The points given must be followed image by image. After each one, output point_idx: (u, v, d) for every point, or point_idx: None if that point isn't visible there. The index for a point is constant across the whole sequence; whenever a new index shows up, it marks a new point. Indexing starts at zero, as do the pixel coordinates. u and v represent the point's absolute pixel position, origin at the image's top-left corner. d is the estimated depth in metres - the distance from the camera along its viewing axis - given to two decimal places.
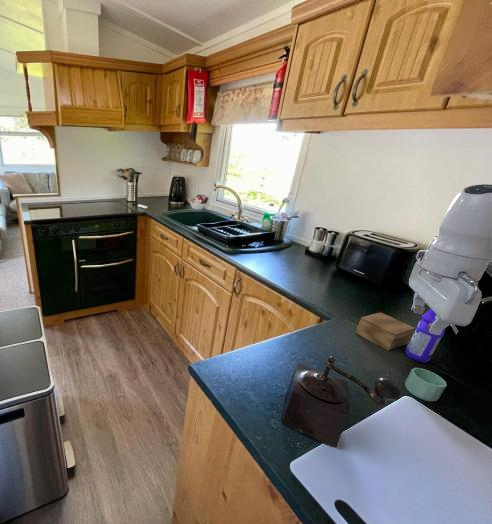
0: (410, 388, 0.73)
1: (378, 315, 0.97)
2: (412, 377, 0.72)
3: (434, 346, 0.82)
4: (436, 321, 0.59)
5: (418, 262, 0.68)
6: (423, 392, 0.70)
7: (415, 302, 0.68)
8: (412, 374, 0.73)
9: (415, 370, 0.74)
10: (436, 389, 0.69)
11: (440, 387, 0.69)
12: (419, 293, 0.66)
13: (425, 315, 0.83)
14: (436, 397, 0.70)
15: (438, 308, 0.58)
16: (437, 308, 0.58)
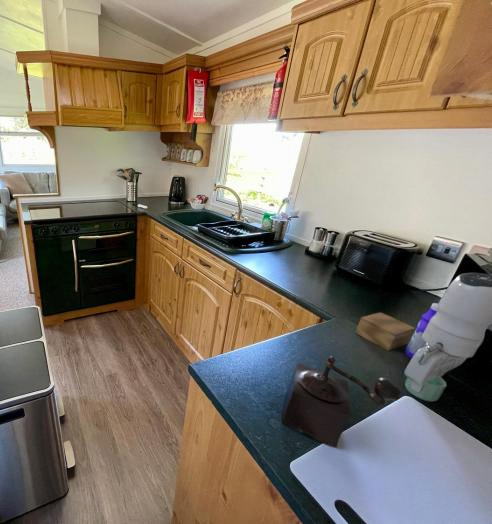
0: (410, 388, 0.73)
1: (378, 315, 0.97)
2: None
3: None
4: None
5: None
6: (423, 392, 0.70)
7: None
8: None
9: None
10: (436, 389, 0.69)
11: (440, 387, 0.69)
12: None
13: (425, 315, 0.83)
14: (436, 397, 0.70)
15: None
16: None
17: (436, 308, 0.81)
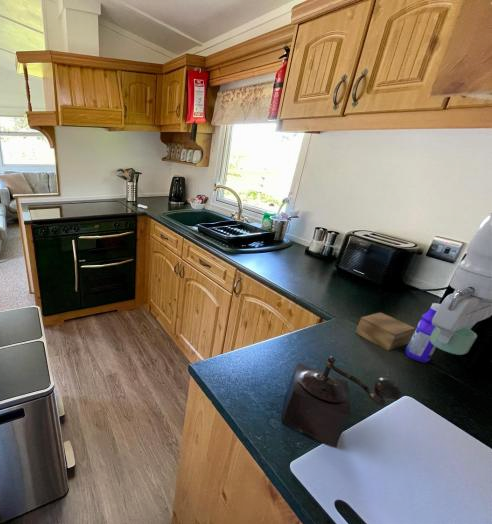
0: (436, 342, 0.67)
1: (378, 315, 0.97)
2: (438, 330, 0.67)
3: (434, 346, 0.82)
4: (440, 328, 0.65)
5: None
6: (451, 344, 0.65)
7: None
8: None
9: None
10: (465, 340, 0.64)
11: (470, 338, 0.63)
12: None
13: (425, 315, 0.83)
14: (466, 349, 0.64)
15: None
16: None
17: (436, 308, 0.81)
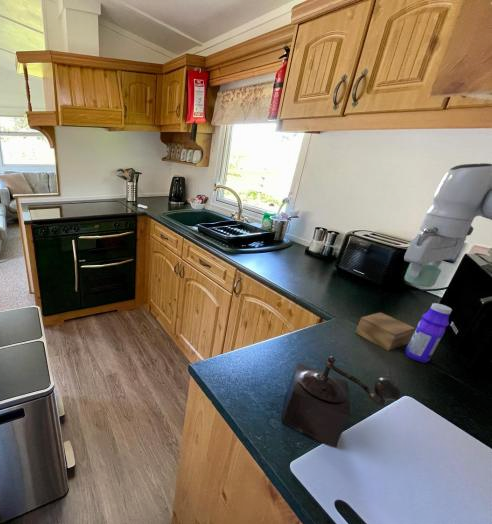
0: (409, 278, 0.82)
1: (378, 315, 0.97)
2: None
3: (434, 346, 0.82)
4: None
5: None
6: (420, 278, 0.79)
7: None
8: None
9: None
10: (431, 273, 0.78)
11: (435, 271, 0.78)
12: None
13: (425, 315, 0.83)
14: (432, 282, 0.79)
15: None
16: None
17: (436, 308, 0.81)
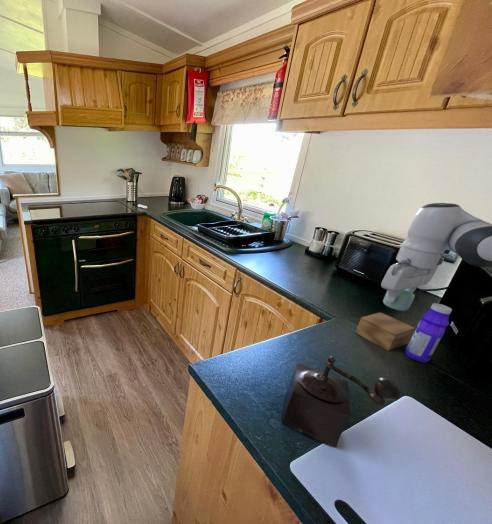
0: (386, 302, 0.90)
1: (378, 315, 0.97)
2: None
3: (434, 346, 0.82)
4: None
5: None
6: (396, 303, 0.88)
7: None
8: None
9: None
10: (406, 299, 0.86)
11: (409, 297, 0.86)
12: None
13: (425, 315, 0.83)
14: (406, 306, 0.87)
15: None
16: None
17: (436, 308, 0.81)
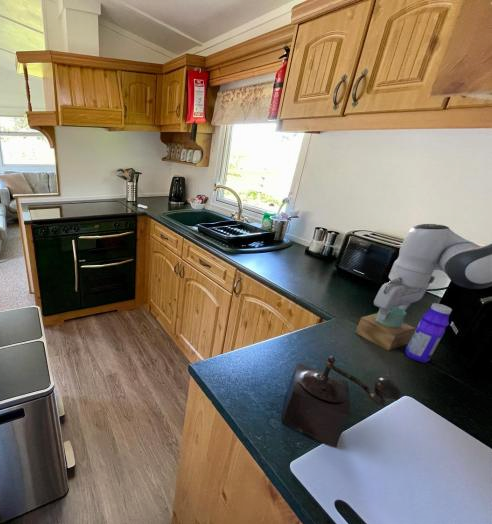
0: (379, 319, 0.92)
1: None
2: None
3: (434, 346, 0.82)
4: None
5: None
6: (388, 320, 0.90)
7: (399, 306, 0.94)
8: None
9: None
10: (398, 316, 0.89)
11: (401, 315, 0.88)
12: None
13: (425, 315, 0.83)
14: (398, 323, 0.89)
15: None
16: None
17: (436, 308, 0.81)
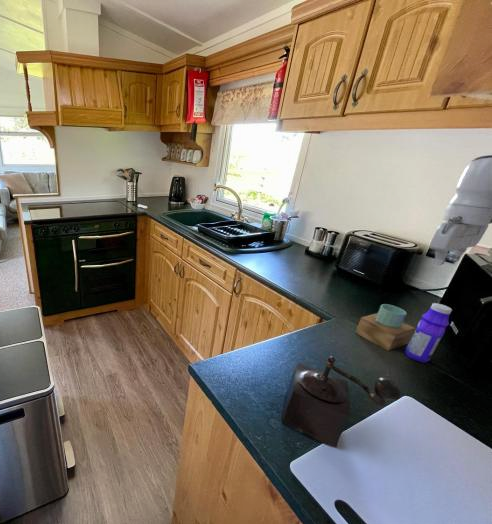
0: (379, 319, 0.92)
1: None
2: (381, 310, 0.92)
3: (434, 346, 0.82)
4: (435, 253, 0.82)
5: None
6: (388, 320, 0.90)
7: (453, 253, 0.87)
8: (381, 308, 0.92)
9: (384, 306, 0.94)
10: (398, 316, 0.89)
11: (401, 315, 0.88)
12: None
13: (425, 315, 0.83)
14: (398, 323, 0.89)
15: None
16: None
17: (436, 308, 0.81)
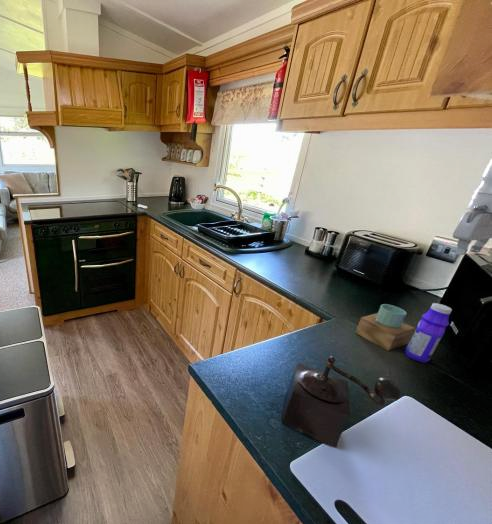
0: (379, 319, 0.92)
1: None
2: (381, 310, 0.92)
3: (434, 346, 0.82)
4: None
5: None
6: (388, 320, 0.90)
7: (475, 244, 0.85)
8: (381, 308, 0.92)
9: (384, 306, 0.94)
10: (398, 316, 0.89)
11: (401, 315, 0.88)
12: None
13: (425, 315, 0.83)
14: (398, 323, 0.89)
15: None
16: None
17: (436, 308, 0.81)
